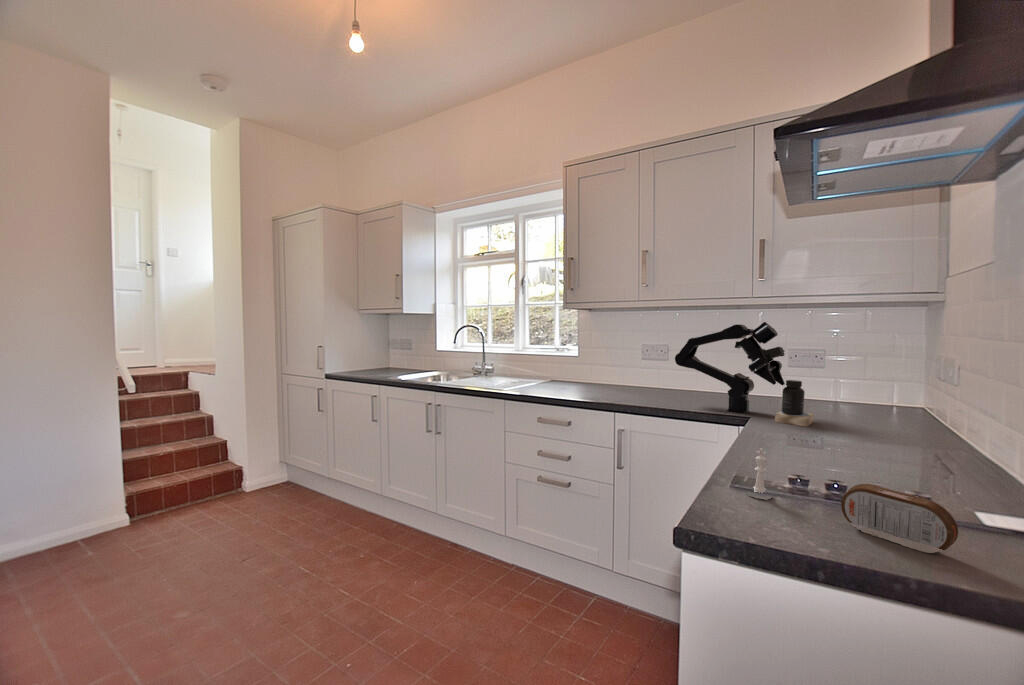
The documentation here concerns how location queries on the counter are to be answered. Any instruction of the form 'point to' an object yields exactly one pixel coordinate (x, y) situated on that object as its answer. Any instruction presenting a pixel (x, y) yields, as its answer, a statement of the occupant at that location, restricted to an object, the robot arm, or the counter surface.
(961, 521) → the counter surface
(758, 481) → the chess piece
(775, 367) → the robot arm
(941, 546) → the tin
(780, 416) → the birch plinth
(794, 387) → the supplement bottle
